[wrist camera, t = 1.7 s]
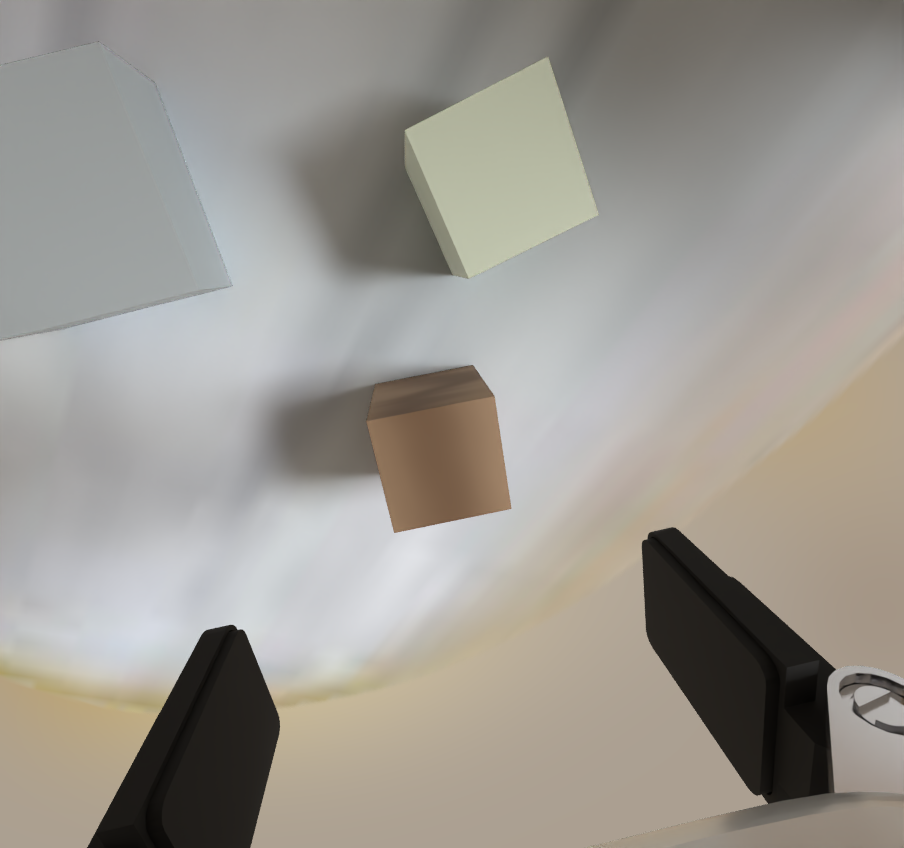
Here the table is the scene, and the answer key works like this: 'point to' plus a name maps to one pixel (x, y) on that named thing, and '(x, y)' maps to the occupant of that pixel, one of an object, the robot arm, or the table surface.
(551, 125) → the sage block
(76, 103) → the pedestal block
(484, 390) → the walnut block
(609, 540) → the table surface
